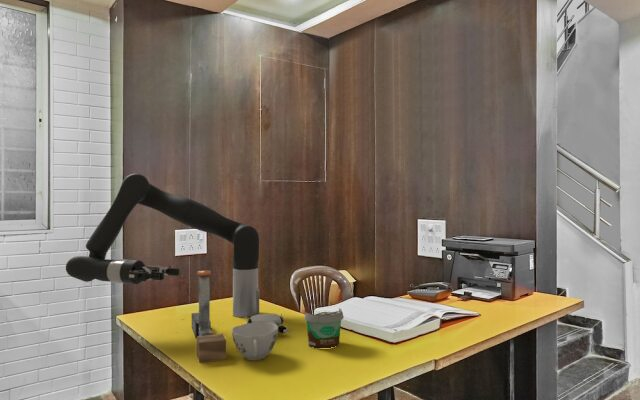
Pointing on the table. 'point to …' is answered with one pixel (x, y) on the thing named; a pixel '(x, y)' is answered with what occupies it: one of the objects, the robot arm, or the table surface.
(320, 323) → the food container
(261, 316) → the robot toy
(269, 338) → the teacup
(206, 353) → the socket
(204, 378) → the table surface
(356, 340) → the table surface
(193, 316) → the sleeve
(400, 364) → the table surface
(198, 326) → the tube
